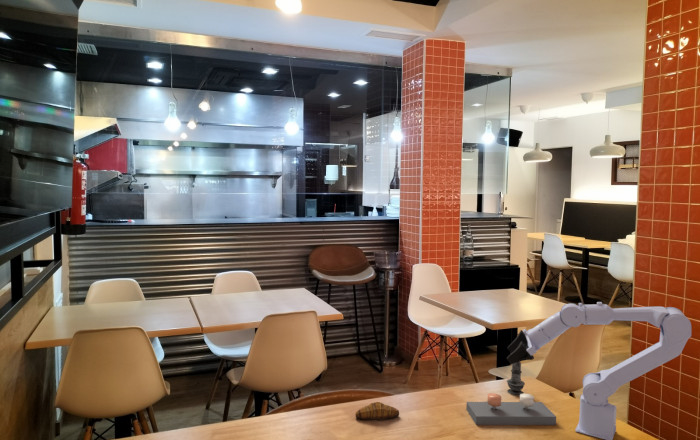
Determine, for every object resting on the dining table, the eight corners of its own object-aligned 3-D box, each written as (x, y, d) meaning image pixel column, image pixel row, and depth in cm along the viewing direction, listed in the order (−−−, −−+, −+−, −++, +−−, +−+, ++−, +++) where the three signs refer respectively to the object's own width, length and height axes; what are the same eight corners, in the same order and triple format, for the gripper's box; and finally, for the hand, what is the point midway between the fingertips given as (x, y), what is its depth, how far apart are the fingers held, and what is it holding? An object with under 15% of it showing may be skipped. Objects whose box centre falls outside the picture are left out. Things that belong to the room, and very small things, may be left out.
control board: (541, 409, 154) (541, 402, 154) (555, 424, 144) (556, 416, 144) (466, 409, 153) (466, 401, 153) (475, 424, 143) (476, 416, 143)
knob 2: (529, 408, 151) (530, 393, 151) (535, 414, 147) (536, 399, 147) (517, 408, 151) (517, 393, 150) (522, 414, 147) (523, 399, 146)
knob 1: (498, 408, 150) (498, 393, 150) (502, 414, 146) (503, 398, 146) (485, 408, 150) (485, 393, 150) (489, 414, 146) (490, 398, 146)
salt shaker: (521, 389, 170) (523, 355, 169) (526, 396, 164) (527, 361, 163) (504, 388, 171) (506, 354, 170) (508, 395, 165) (510, 360, 164)
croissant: (357, 424, 142) (357, 408, 141) (353, 414, 148) (353, 398, 148) (402, 422, 144) (402, 405, 144) (396, 411, 151) (396, 396, 150)
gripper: (536, 313, 153) (501, 336, 157) (537, 330, 139) (499, 355, 144) (551, 330, 152) (516, 353, 157) (554, 349, 138) (515, 374, 143)
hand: (509, 355), depth 150 cm, fingers open, 7 cm apart
